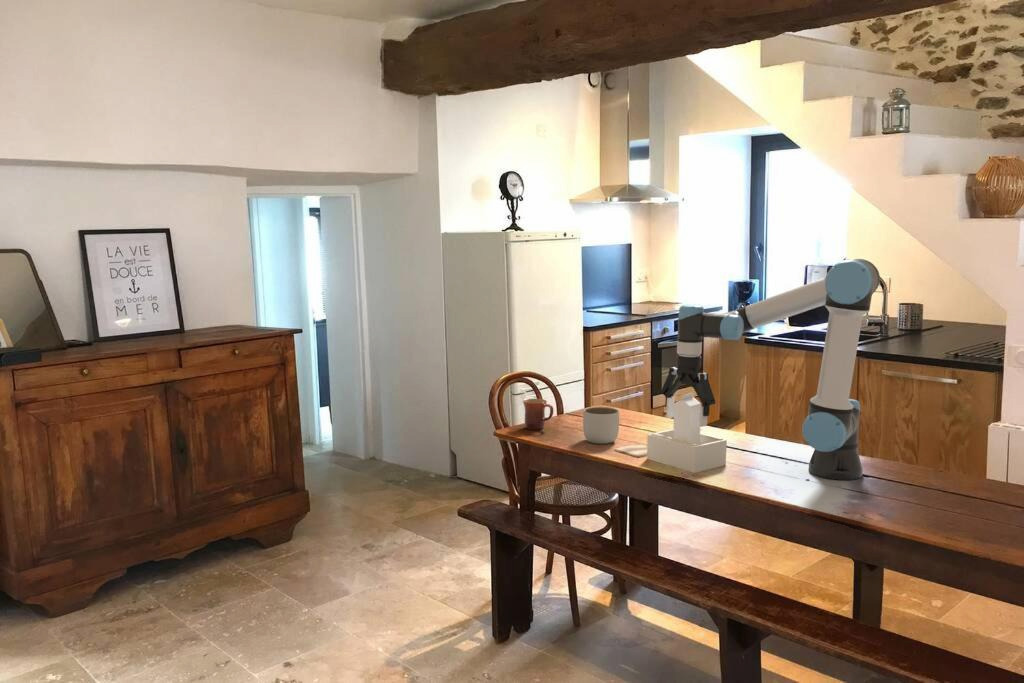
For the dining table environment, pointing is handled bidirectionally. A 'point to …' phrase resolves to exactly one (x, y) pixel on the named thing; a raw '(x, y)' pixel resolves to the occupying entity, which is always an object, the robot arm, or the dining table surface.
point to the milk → (687, 419)
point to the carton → (686, 451)
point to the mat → (633, 450)
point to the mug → (536, 413)
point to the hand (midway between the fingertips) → (686, 421)
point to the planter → (601, 424)
